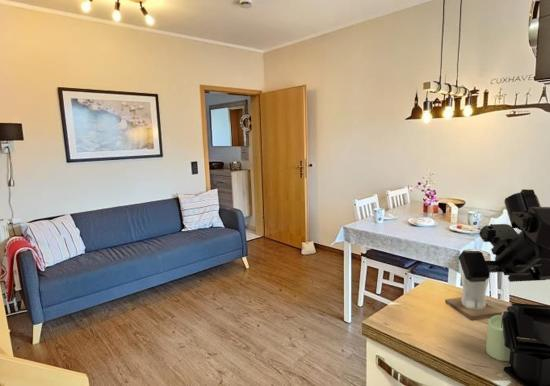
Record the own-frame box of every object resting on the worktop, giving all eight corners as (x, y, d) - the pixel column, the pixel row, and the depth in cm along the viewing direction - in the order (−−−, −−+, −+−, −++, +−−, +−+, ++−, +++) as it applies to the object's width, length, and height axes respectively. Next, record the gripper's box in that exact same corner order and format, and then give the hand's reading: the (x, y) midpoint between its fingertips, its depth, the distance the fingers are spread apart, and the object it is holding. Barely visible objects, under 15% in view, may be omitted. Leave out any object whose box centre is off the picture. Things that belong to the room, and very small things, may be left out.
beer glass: (487, 314, 89) (490, 259, 87) (457, 307, 93) (459, 254, 91) (488, 303, 95) (492, 251, 92) (460, 297, 99) (463, 247, 96)
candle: (499, 363, 72) (502, 327, 70) (480, 349, 76) (482, 315, 75) (519, 359, 73) (522, 323, 71) (499, 345, 78) (501, 311, 76)
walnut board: (501, 315, 90) (501, 312, 90) (471, 320, 88) (471, 316, 88) (472, 298, 100) (472, 295, 100) (445, 302, 98) (445, 299, 98)
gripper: (554, 214, 73) (515, 248, 85) (465, 216, 73) (439, 250, 86) (582, 262, 66) (535, 292, 79) (484, 264, 67) (453, 293, 79)
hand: (489, 280), depth 81 cm, fingers open, 9 cm apart
